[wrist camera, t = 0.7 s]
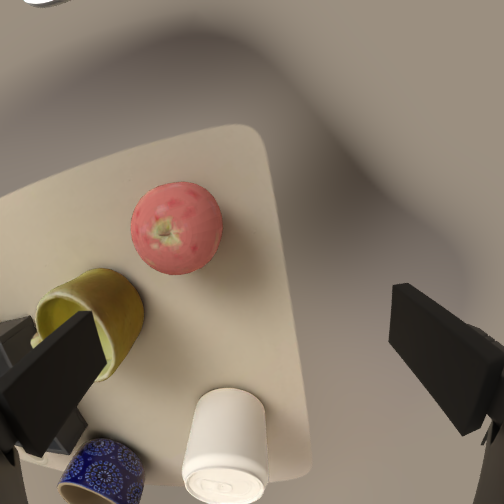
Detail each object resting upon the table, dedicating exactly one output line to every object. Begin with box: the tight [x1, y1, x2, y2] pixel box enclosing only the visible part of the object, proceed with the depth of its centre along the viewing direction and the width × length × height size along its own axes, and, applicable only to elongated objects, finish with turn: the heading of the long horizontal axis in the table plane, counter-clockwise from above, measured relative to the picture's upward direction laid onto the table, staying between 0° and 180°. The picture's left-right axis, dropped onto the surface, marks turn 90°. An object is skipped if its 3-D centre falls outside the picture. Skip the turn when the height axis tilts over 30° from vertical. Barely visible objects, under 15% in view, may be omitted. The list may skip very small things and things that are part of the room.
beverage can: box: [182, 388, 269, 504], centre depth 27 cm, size 8×8×12 cm
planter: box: [57, 438, 145, 504], centre depth 30 cm, size 11×11×11 cm
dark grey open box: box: [0, 316, 87, 455], centre depth 29 cm, size 18×17×7 cm
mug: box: [31, 268, 144, 382], centre depth 26 cm, size 12×10×10 cm
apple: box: [131, 182, 223, 275], centre depth 25 cm, size 7×7×8 cm
